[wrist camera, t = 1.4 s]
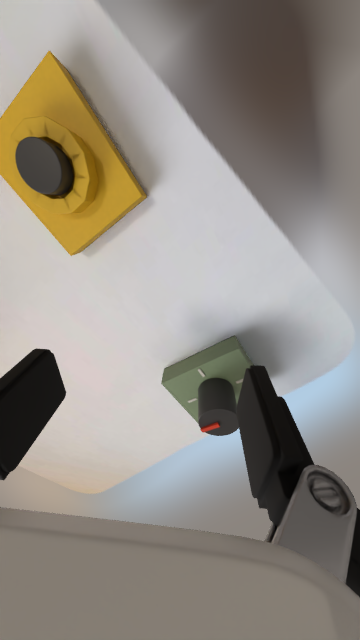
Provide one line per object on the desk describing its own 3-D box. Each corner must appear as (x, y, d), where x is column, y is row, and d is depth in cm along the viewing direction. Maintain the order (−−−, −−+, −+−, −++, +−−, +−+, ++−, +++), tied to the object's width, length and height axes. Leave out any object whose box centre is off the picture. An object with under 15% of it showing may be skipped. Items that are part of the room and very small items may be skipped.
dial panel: (234, 335, 28) (239, 349, 25) (264, 381, 32) (270, 398, 29) (163, 368, 32) (160, 384, 29) (197, 407, 35) (197, 424, 33)
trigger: (49, 131, 16) (33, 123, 15) (82, 177, 17) (71, 174, 16) (22, 163, 17) (5, 159, 16) (55, 204, 19) (42, 203, 17)
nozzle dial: (223, 372, 27) (228, 406, 23) (239, 395, 29) (248, 430, 25) (191, 385, 29) (190, 419, 24) (209, 407, 31) (211, 442, 26)
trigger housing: (65, 67, 17) (31, 30, 13) (147, 197, 21) (137, 194, 17) (-2, 154, 20) (-44, 143, 17) (80, 252, 24) (61, 259, 21)
